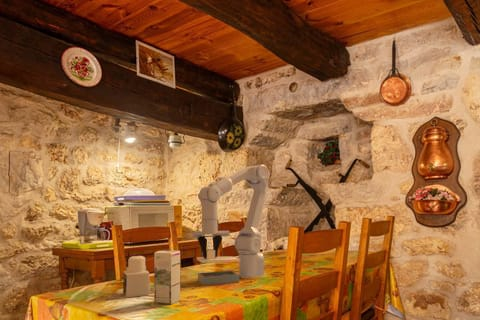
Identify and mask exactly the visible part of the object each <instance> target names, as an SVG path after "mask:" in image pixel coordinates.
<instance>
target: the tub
mask: <svg viewBox="0 0 480 320" xmlns="http://www.w3.org/2000/svg"><path fill="white" fill-rule="evenodd" d="M224 274H230V275H224ZM211 275H214V276H211ZM206 276H209V277H206ZM197 282H199V283H200V284H201V285H202V286H204V287H205V286H211V285H212V286H215V285H226V284H234V283H235V284H236V283H237V284H238V283H240V277H239V272H238V273H237V272H236V271H234V270H223V271H222V270H221V271H209V272H207V271H206V272H198V273H197Z"/></svg>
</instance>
